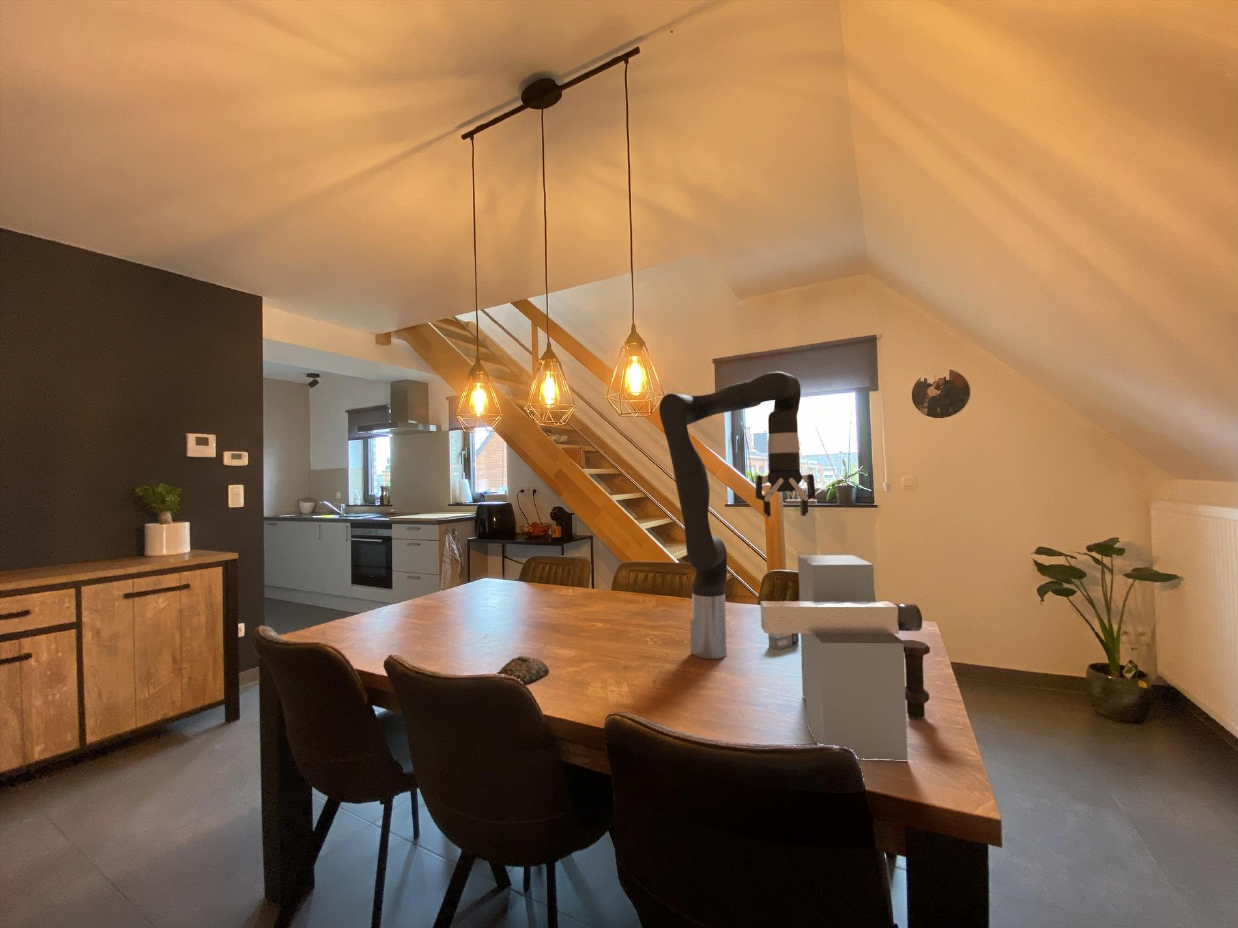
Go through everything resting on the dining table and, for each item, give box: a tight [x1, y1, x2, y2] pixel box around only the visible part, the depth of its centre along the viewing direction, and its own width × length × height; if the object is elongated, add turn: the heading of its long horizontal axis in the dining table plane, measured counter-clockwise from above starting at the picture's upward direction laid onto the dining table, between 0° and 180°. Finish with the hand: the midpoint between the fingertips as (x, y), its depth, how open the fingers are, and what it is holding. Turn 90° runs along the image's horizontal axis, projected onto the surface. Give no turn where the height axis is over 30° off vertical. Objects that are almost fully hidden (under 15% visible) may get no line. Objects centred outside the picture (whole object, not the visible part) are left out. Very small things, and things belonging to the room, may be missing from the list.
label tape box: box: [767, 633, 800, 650], centre depth 151 cm, size 9×4×12 cm, turn 120°
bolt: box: [901, 639, 931, 720], centre depth 106 cm, size 6×5×15 cm
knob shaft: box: [760, 600, 923, 635], centre depth 97 cm, size 28×5×5 cm, turn 84°
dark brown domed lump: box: [496, 655, 550, 685], centre depth 133 cm, size 13×12×5 cm
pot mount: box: [797, 554, 908, 761], centre depth 104 cm, size 15×26×32 cm, turn 174°
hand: (785, 516), depth 129 cm, fingers open, 8 cm apart
